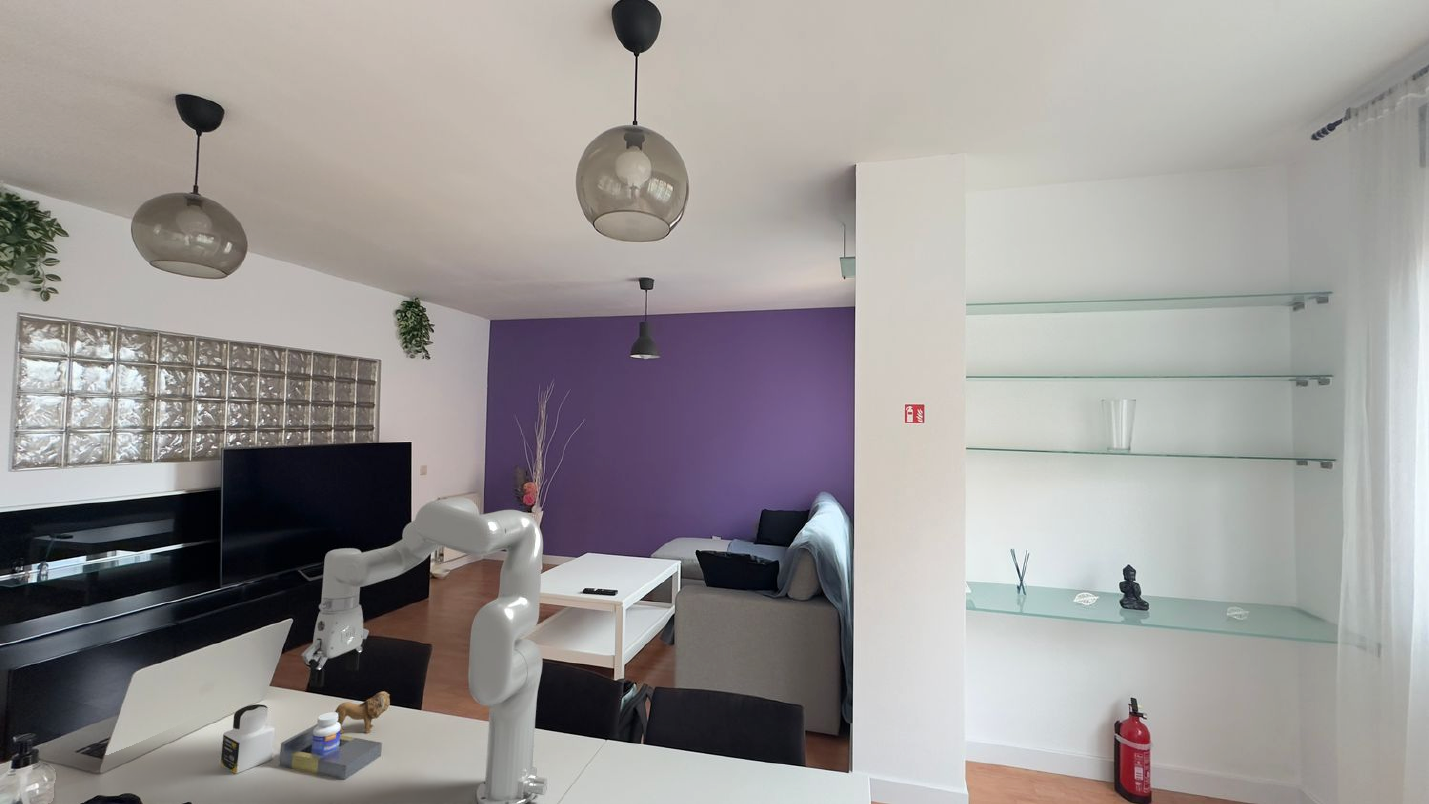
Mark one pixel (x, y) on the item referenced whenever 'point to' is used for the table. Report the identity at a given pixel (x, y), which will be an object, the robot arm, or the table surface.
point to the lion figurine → (364, 710)
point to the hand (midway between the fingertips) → (334, 677)
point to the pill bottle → (326, 734)
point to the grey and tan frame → (328, 755)
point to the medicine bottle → (248, 739)
